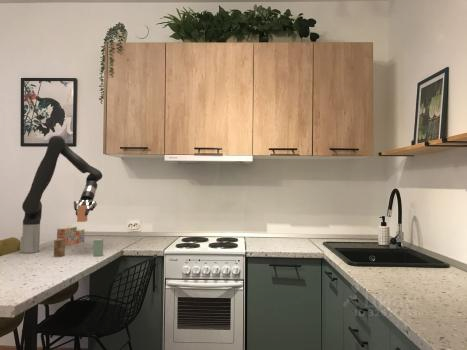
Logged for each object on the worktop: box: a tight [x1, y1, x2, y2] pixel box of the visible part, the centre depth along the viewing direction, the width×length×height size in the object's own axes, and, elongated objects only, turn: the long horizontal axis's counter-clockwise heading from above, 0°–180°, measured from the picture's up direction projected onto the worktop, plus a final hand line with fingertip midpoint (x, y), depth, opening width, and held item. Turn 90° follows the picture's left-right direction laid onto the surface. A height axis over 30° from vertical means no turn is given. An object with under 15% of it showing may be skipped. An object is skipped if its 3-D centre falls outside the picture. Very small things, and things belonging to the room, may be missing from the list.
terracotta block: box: [76, 205, 88, 223], centre depth 194 cm, size 4×4×10 cm
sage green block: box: [92, 238, 104, 257], centre depth 191 cm, size 4×4×10 cm
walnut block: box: [53, 238, 66, 258], centre depth 188 cm, size 4×4×10 cm
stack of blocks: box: [56, 226, 85, 248], centre depth 227 cm, size 21×6×12 cm, turn 171°
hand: (81, 214), depth 192 cm, fingers closed on terracotta block, 4 cm apart
